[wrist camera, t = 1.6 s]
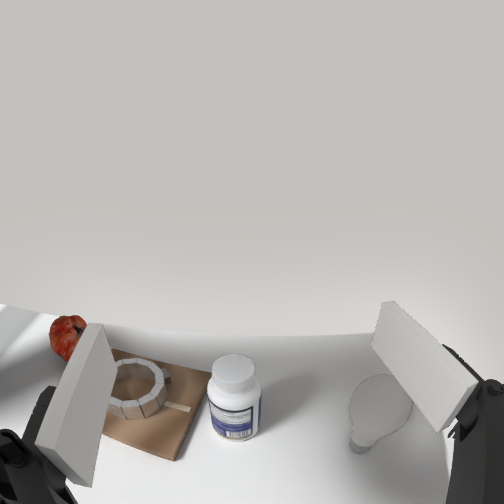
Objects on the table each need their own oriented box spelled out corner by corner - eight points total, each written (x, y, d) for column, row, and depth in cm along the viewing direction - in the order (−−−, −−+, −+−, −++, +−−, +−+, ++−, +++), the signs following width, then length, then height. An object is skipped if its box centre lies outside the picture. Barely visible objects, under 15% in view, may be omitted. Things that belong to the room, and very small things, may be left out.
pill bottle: (231, 401, 31) (228, 342, 28) (268, 420, 29) (274, 362, 25) (202, 427, 27) (192, 370, 24) (241, 450, 24) (240, 397, 21)
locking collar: (92, 405, 27) (85, 392, 26) (123, 365, 34) (119, 352, 33) (150, 428, 25) (144, 416, 24) (177, 380, 33) (174, 367, 32)
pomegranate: (57, 374, 34) (73, 365, 29) (36, 333, 34) (47, 316, 29) (89, 356, 40) (111, 343, 36) (69, 318, 41) (87, 299, 36)
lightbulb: (332, 426, 27) (356, 359, 23) (381, 427, 26) (415, 361, 22) (329, 469, 21) (359, 409, 18) (384, 469, 20) (428, 408, 16)
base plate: (63, 413, 25) (59, 407, 25) (114, 353, 38) (112, 347, 37) (173, 461, 22) (171, 456, 22) (211, 377, 35) (210, 371, 35)
